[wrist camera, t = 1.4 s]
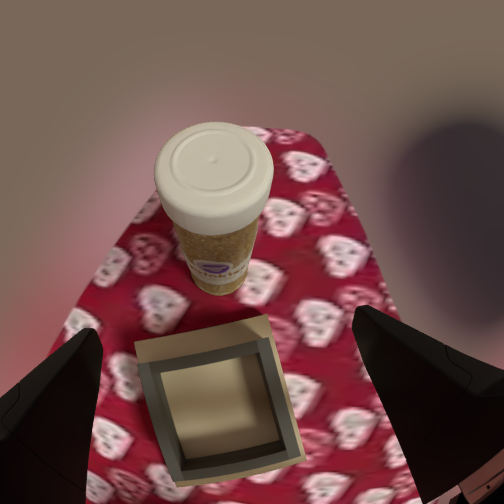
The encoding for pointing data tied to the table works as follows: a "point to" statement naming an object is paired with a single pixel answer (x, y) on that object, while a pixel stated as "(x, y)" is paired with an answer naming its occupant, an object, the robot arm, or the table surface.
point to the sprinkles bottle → (215, 199)
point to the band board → (219, 402)
